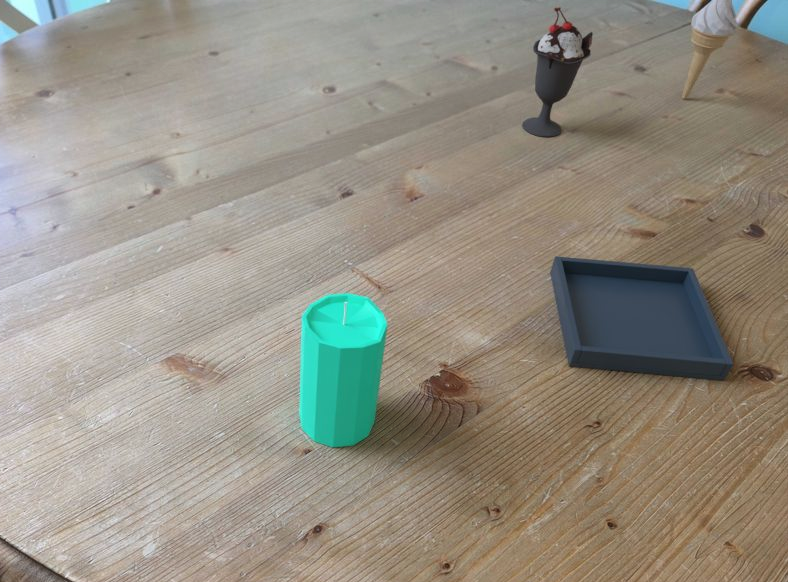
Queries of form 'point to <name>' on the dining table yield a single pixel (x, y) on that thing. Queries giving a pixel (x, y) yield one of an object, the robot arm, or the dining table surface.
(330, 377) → the candle
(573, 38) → the sundae
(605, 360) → the tray
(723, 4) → the ice cream cone
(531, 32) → the dining table surface
